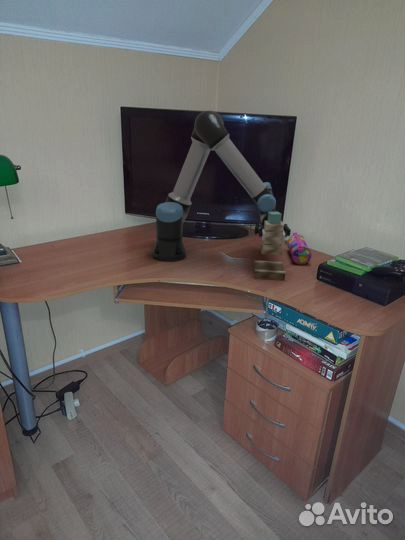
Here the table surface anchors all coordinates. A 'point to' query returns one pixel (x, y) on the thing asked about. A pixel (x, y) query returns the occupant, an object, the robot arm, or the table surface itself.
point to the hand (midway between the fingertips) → (273, 237)
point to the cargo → (274, 217)
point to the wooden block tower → (272, 239)
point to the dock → (269, 270)
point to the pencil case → (298, 249)
